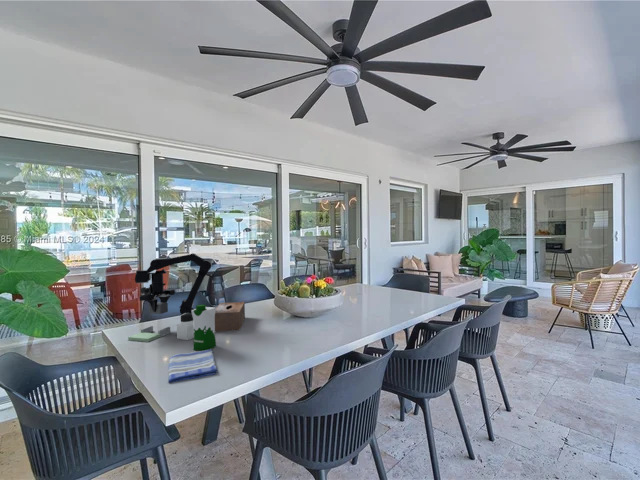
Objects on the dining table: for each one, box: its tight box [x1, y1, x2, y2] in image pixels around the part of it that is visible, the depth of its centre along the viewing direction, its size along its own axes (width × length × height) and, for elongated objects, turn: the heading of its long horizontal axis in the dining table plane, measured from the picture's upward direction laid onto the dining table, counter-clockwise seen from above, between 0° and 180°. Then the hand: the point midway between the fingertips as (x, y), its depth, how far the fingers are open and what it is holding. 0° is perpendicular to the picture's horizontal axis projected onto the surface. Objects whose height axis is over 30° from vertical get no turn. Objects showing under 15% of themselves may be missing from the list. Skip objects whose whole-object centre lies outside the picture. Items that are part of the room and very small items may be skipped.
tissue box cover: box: [215, 301, 246, 332], centre depth 185 cm, size 26×14×10 cm, turn 7°
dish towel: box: [167, 349, 218, 384], centre depth 126 cm, size 17×24×3 cm
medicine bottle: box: [176, 313, 194, 341], centre depth 162 cm, size 7×7×12 cm
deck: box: [127, 325, 171, 343], centre depth 165 cm, size 12×15×3 cm
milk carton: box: [191, 303, 217, 351], centre depth 146 cm, size 9×9×20 cm
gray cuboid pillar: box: [148, 301, 169, 315], centre depth 174 cm, size 8×5×5 cm, turn 71°
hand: (158, 310), depth 174 cm, fingers closed on gray cuboid pillar, 5 cm apart
